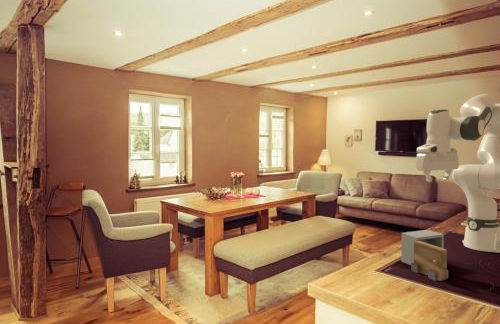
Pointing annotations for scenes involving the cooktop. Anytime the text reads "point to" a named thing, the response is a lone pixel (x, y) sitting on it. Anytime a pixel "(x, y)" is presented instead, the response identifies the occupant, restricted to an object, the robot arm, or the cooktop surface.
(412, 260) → the cabinet
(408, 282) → the cooktop surface
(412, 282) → the cooktop surface
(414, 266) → the hinge clips
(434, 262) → the door
